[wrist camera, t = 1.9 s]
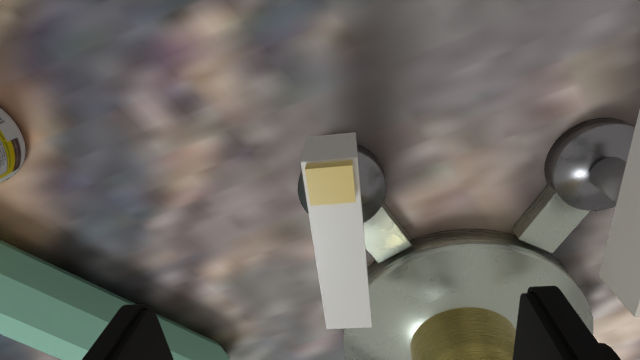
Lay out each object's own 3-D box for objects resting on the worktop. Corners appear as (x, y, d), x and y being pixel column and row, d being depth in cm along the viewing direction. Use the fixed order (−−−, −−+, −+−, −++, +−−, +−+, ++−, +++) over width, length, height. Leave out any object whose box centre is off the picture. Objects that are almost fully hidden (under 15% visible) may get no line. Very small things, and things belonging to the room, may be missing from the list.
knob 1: (366, 256, 24) (372, 335, 18) (330, 258, 24) (326, 337, 19) (354, 114, 20) (357, 162, 15) (311, 118, 20) (299, 167, 15)
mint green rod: (217, 425, 25) (-224, 241, 20) (193, 429, 29) (-176, 278, 24) (251, 336, 29) (-109, 162, 24) (225, 351, 33) (-85, 206, 28)
